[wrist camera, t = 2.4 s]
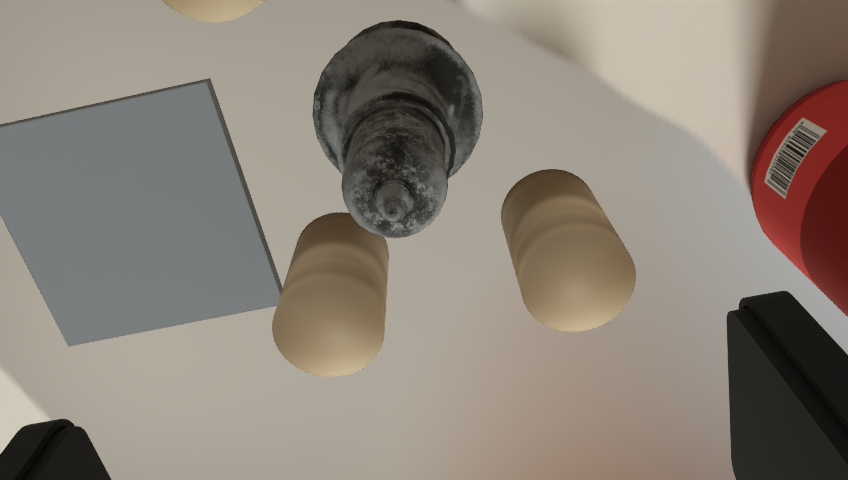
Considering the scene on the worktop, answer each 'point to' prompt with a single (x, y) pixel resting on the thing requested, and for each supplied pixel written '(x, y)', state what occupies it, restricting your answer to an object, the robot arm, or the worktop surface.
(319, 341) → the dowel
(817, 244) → the canned food
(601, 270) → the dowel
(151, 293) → the coaster
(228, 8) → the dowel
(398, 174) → the salt shaker
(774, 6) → the worktop surface
